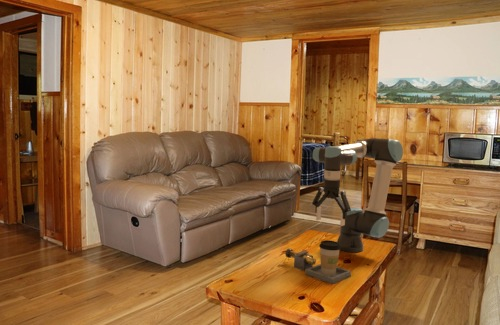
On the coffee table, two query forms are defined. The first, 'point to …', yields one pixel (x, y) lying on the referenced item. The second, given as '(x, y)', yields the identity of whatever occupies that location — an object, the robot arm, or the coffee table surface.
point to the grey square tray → (339, 276)
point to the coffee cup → (329, 257)
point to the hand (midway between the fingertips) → (330, 222)
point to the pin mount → (302, 261)
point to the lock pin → (310, 260)
